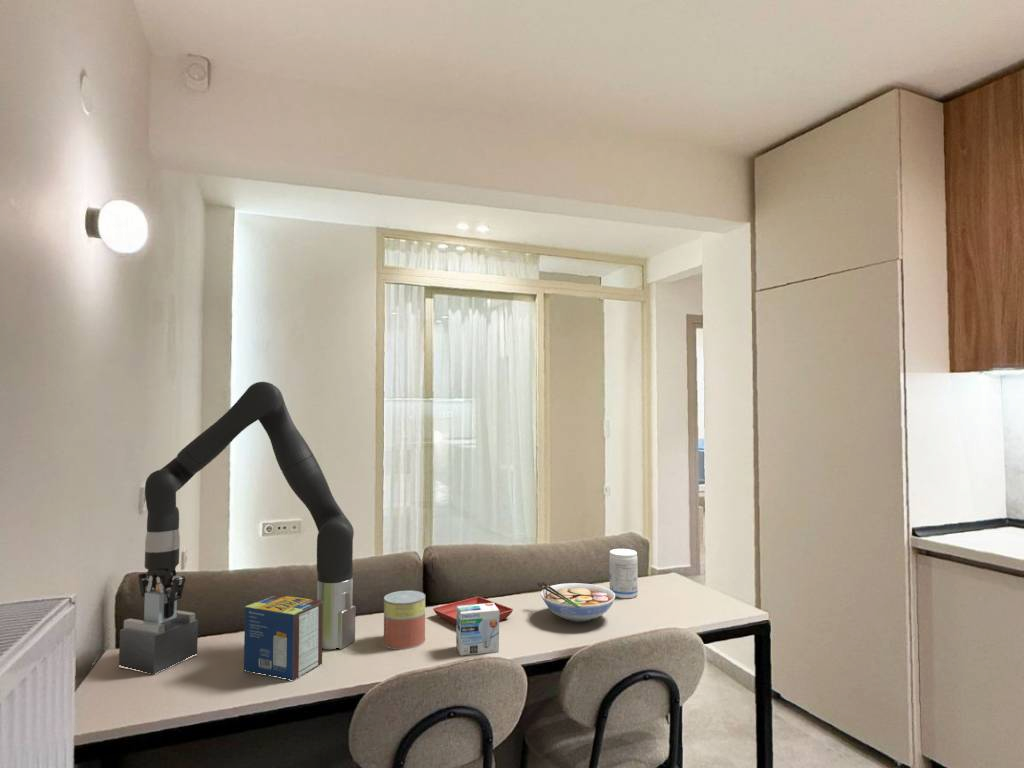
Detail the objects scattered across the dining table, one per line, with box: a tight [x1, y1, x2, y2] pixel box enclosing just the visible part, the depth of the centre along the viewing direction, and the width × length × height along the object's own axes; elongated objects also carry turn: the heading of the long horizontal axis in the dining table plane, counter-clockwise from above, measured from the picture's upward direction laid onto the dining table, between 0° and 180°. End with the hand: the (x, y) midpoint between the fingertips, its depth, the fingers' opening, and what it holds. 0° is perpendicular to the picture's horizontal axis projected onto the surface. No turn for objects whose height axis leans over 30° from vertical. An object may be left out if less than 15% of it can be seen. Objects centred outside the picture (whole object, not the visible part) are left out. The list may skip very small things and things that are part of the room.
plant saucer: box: [432, 596, 514, 626], centre depth 176 cm, size 18×18×3 cm
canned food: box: [383, 589, 426, 650], centre depth 159 cm, size 11×11×12 cm
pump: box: [143, 584, 178, 623], centre depth 146 cm, size 5×5×9 cm
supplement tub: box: [608, 548, 639, 599], centre depth 199 cm, size 10×10×15 cm
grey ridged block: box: [118, 609, 199, 675], centre depth 146 cm, size 12×12×11 cm
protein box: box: [243, 594, 323, 681], centre depth 142 cm, size 10×15×16 cm
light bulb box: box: [455, 603, 500, 656], centre depth 153 cm, size 11×7×11 cm, turn 105°
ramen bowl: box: [536, 581, 616, 623], centre depth 176 cm, size 25×23×8 cm
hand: (160, 615), depth 146 cm, fingers closed on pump, 4 cm apart
